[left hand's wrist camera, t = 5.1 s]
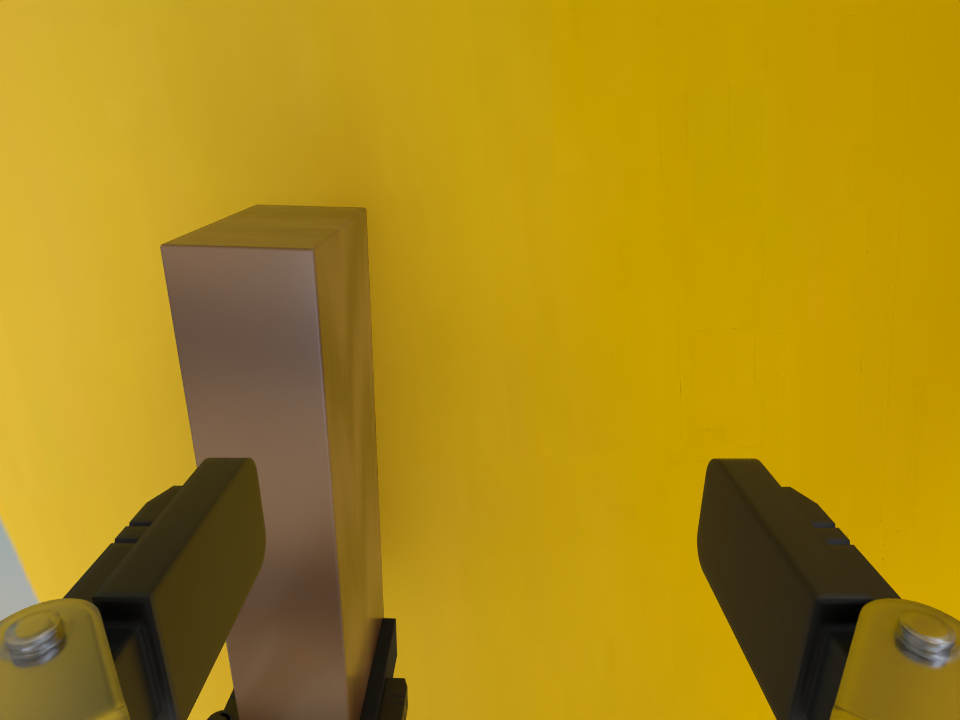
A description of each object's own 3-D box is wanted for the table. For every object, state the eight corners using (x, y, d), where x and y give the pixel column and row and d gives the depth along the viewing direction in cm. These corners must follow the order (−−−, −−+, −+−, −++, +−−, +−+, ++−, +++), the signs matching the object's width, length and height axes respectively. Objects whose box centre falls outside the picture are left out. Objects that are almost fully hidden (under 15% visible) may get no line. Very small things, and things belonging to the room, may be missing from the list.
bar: (255, 204, 28) (158, 244, 20) (366, 207, 27) (313, 249, 20) (305, 672, 38) (255, 821, 30) (386, 676, 38) (357, 825, 30)
